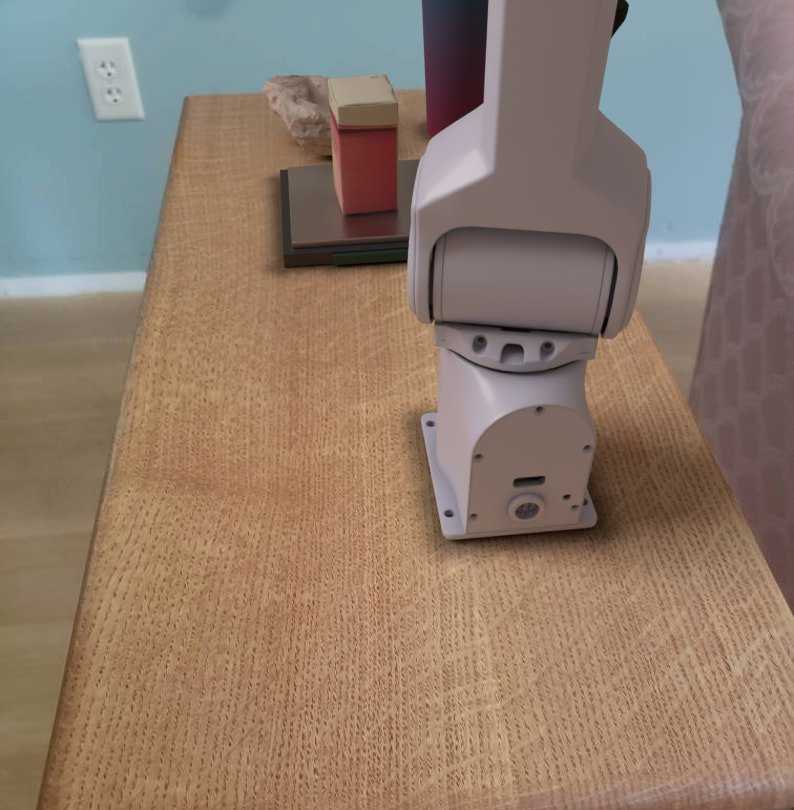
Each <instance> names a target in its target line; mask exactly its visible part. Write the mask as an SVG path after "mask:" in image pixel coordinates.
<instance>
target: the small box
mask: <svg viewBox="0 0 794 810" xmlns="http://www.w3.org/2000/svg"><path fill="white" fill-rule="evenodd" d="M328 78H329V79H328V88H329V103H330V121H331V138H332V155H331V156H332V164H333V175H334V186H335V190H336V194H337V198H338V201H339V204H340V207H341V210H342V213H343V214H345V215H346V214H356V213H368V212H379V211H387V210H397V209H398V161H399V100H398V97H397V95H396V93H395V91H394V87H393V86H392V84H391V82H390V79H389V77H388V75H387V74H386V73H374V74H367V75H357V76H355V75H354V76H343V77H328Z"/></svg>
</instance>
